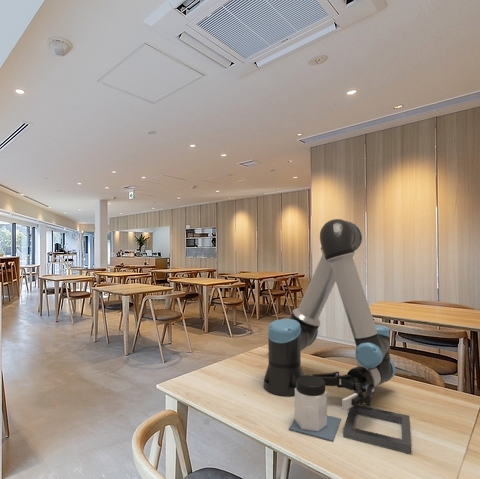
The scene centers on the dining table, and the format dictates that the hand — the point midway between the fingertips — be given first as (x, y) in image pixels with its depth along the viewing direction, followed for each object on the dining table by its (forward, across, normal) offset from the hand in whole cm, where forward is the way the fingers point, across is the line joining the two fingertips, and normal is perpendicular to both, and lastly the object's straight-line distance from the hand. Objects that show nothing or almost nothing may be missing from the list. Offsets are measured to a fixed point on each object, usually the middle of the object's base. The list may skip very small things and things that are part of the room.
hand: (322, 396), depth 92 cm
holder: (-9, -12, -8) cm, 17 cm away
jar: (+4, +1, -7) cm, 8 cm away
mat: (+3, +1, -8) cm, 8 cm away
